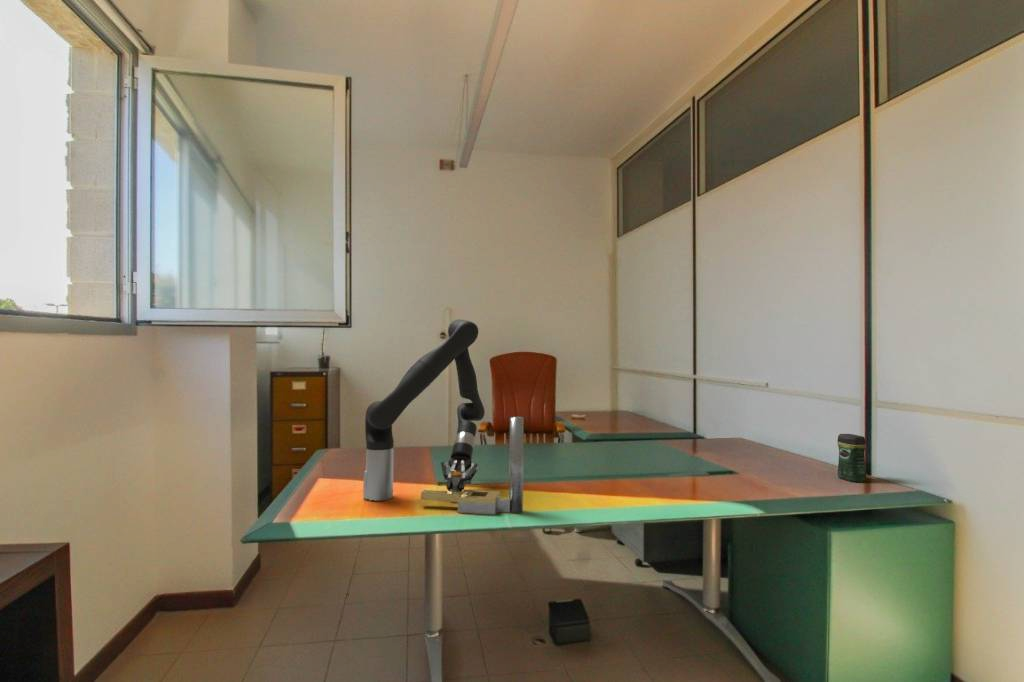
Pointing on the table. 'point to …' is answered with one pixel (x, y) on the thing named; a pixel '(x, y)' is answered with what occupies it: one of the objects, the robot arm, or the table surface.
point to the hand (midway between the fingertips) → (454, 489)
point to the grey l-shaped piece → (491, 500)
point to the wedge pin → (455, 480)
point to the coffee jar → (851, 457)
